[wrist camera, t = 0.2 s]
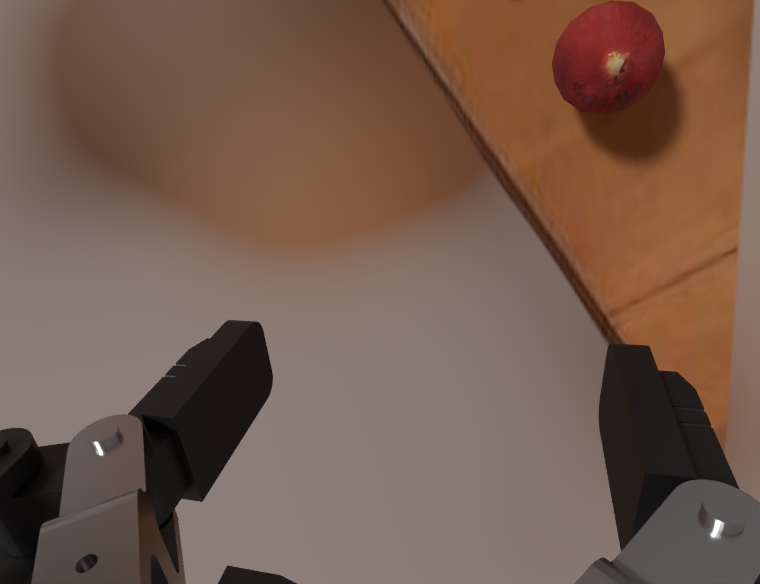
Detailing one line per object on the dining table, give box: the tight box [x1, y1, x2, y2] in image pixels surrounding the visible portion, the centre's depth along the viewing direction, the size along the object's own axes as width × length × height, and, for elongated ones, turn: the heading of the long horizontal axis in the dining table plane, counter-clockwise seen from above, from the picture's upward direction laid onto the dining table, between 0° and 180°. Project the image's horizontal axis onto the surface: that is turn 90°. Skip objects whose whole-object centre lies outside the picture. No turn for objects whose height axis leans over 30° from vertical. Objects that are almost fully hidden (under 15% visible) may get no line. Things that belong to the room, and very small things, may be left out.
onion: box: [552, 1, 665, 115], centre depth 30 cm, size 6×6×8 cm
